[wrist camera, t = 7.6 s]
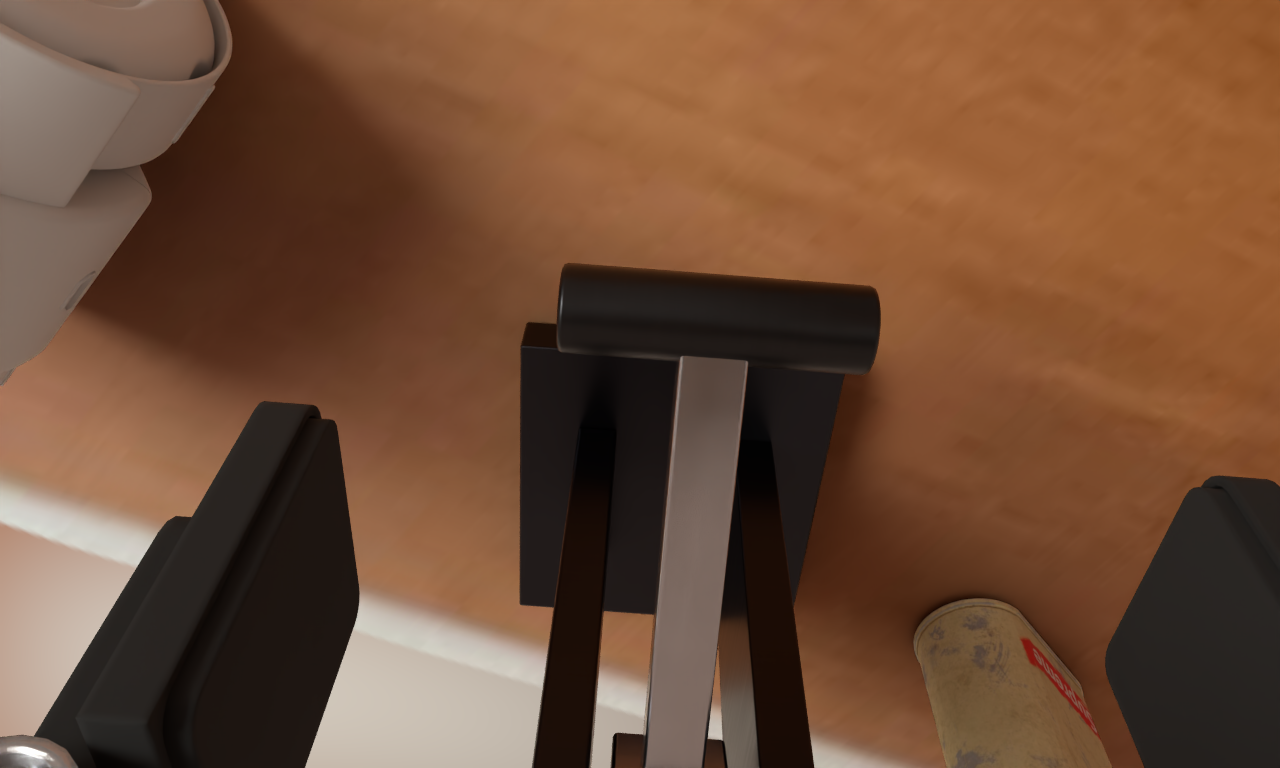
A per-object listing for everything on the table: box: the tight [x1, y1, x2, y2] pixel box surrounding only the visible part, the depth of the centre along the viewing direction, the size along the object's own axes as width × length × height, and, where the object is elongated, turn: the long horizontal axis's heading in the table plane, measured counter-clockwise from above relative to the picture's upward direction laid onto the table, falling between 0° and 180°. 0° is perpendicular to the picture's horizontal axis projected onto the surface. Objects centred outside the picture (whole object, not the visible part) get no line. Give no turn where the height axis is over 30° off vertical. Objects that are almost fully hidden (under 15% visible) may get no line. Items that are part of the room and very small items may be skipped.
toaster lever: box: [556, 263, 881, 768], centre depth 18 cm, size 12×5×2 cm, turn 176°
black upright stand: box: [520, 322, 845, 768], centre depth 23 cm, size 9×8×13 cm
